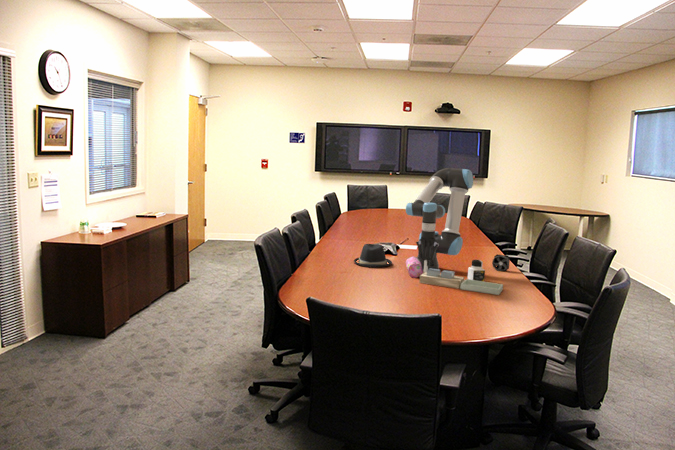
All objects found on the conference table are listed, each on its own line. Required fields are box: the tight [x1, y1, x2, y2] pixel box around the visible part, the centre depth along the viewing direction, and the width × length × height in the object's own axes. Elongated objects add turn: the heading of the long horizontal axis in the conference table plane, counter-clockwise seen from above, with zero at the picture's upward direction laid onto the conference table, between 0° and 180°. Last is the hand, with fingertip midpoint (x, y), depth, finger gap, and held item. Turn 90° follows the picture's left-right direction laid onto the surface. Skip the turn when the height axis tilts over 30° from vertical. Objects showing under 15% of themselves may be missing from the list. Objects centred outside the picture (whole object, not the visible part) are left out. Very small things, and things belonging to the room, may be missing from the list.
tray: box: [459, 278, 504, 296], centre depth 277 cm, size 13×20×3 cm, turn 63°
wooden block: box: [418, 272, 465, 290], centre depth 287 cm, size 12×22×4 cm, turn 63°
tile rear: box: [427, 268, 441, 277], centre depth 288 cm, size 6×6×3 cm
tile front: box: [440, 270, 455, 279], centre depth 285 cm, size 6×6×3 cm
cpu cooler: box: [491, 254, 511, 272], centre depth 326 cm, size 10×6×10 cm, turn 62°
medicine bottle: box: [467, 259, 486, 282], centre depth 296 cm, size 7×7×12 cm
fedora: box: [353, 243, 393, 268], centre depth 331 cm, size 25×27×12 cm
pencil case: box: [405, 255, 424, 279], centre depth 307 cm, size 21×9×9 cm, turn 176°
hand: (425, 271), depth 290 cm, fingers closed
